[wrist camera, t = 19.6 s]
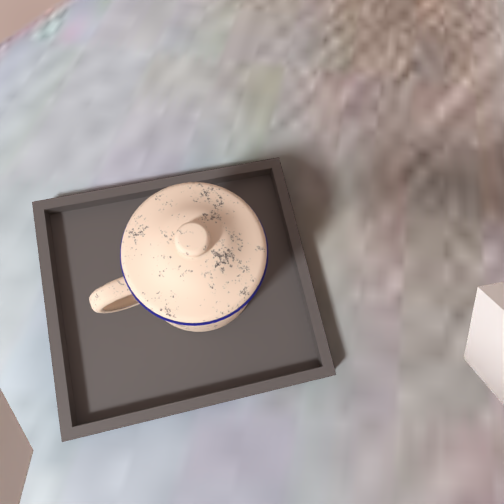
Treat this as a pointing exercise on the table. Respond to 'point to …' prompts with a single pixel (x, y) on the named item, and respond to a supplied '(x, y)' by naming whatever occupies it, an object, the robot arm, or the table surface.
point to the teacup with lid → (189, 258)
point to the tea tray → (158, 330)
